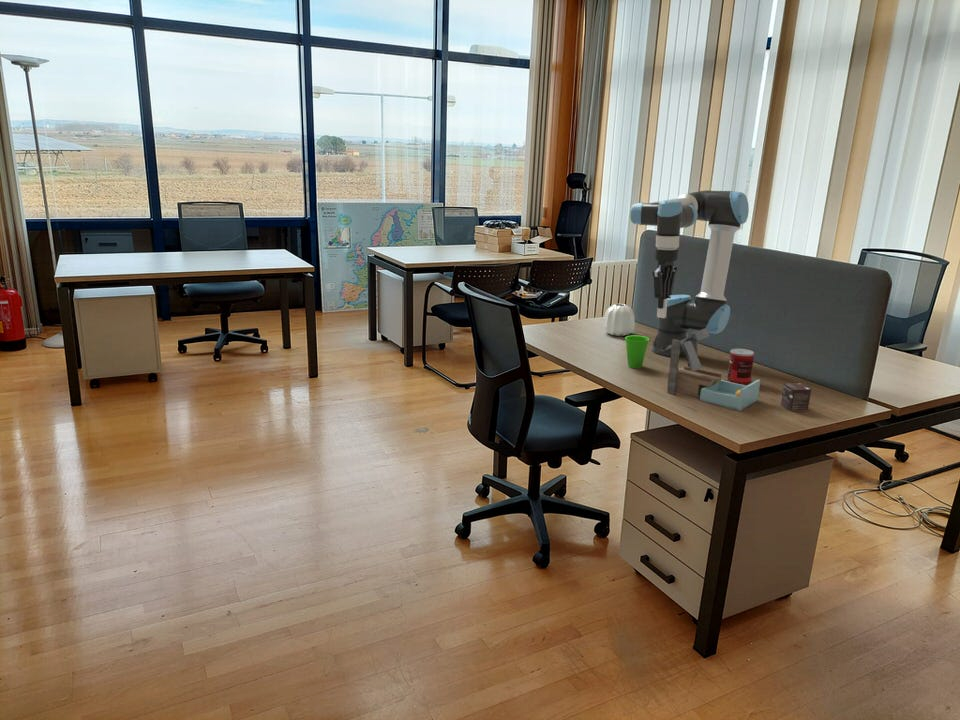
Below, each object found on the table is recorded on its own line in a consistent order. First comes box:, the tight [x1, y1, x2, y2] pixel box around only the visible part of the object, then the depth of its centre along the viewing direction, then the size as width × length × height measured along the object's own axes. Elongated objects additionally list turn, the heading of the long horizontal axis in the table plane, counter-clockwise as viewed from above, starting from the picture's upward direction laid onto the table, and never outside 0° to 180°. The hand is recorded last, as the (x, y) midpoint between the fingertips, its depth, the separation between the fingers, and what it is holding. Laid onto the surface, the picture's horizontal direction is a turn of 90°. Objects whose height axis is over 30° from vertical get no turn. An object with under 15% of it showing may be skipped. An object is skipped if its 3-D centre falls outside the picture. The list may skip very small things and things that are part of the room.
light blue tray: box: [699, 379, 761, 412], centre depth 222 cm, size 14×14×7 cm
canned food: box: [727, 348, 755, 385], centre depth 241 cm, size 8×8×11 cm
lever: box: [653, 328, 711, 371], centre depth 230 cm, size 11×19×12 cm
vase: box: [602, 303, 636, 337], centre depth 304 cm, size 14×14×13 cm
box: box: [780, 382, 812, 412], centre depth 216 cm, size 6×6×7 cm
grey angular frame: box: [667, 331, 723, 398], centre depth 229 cm, size 14×15×18 cm
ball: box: [735, 390, 741, 397], centre depth 220 cm, size 4×4×4 cm
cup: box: [624, 334, 651, 369], centre depth 257 cm, size 9×9×11 cm
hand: (661, 317), depth 234 cm, fingers closed
